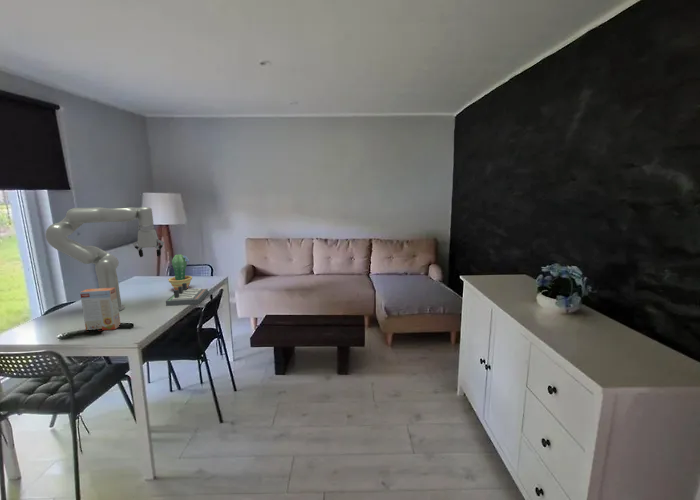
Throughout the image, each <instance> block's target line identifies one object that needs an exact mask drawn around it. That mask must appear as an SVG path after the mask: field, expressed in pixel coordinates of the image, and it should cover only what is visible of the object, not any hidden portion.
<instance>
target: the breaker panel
mask: <svg viewBox="0 0 700 500" xmlns="http://www.w3.org/2000/svg"><path fill="white" fill-rule="evenodd" d="M182 286H183V293H179V290H173V294H172V295H171V296H170V297H169V298H168V299H166V300H165V306H166V307H171V306H185V305H187V306H189V305H190V306H191V305H199V304H200V303H201V302H202V301H203V300H204V298H205V297H206V296H207V295H208V294H209V289H208V288H202V287H200V288H199V287H198V288H197V287H195V288H188V289H187V284H186V283H183V284H182Z"/></svg>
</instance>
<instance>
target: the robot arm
mask: <svg viewBox="0 0 700 500" xmlns="http://www.w3.org/2000/svg"><path fill="white" fill-rule="evenodd" d="M153 217H154V216H153V209H152V208H151V207H149V206H144V207H134V206H130V207H128V206H127V207H123V208H122V207H121V208H120V207H119V208H108V207H107V208H106V207H102V206H101V207H99V206H98V207H73V208H70V209H68V210H67V212H66V214H65V217H64V218H63V219H62V220H60V221H59V222H56V223H53V224H51V225H49V226H48V227H47V228H46V231H45V238H46V241H47V243H48V244H49V245H50V246H51V247H52V248H54V249H55V250H57V251H59V252H60V253H63V254H65V255H67V256H69V257H70V258H72V259H74V260H76V261H78V262H80V263H81V264H84V265H89V264H93V265H95V267H94V269H95V274H96V277H97V278H96V279H97V282H98V283H97V284H98V288H115V289H116V296H117V303H118V310H119V312H120V311H123V310H125V308H126V306H125V305H123V304H122V298H121V292H120V285H119V284H120V283H119V279H118V273H117V269H118V266H119V263H120V262H119V259H118V258H117V257H116V256H115V255H113V254H112V253H110V252H107V251H105V250H104V249H102V248H100V247H98V246H94V245H86V246H85V245H84V244H81V243H79V242H78V241H76V240H74V239H72V238H69V236H71V235H72V234H73V233H74V232H76V230H78V229H79V228H80V227H81V226H82V225H83V224H91V223H92V224H93V223H94V224H95V223H97V224H98V223H118V222H122V223H123V222H132V221H135V220H138V226H136V229H138V231H137V241H135V242H133V243H132V245H133V247H134V248H135V249H136V250H137V252H138V256H139V258H142V257H144V252H143V250H144V249H143V248H155V249H156V257H160V256H161V253H162V251H161V249H162V248H163V247H164V244H165V242H164V241H162V240H160V239H159V238H158V234H157V231H156V229H155V225H154V218H153ZM159 244H160V245H159Z"/></svg>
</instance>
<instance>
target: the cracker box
mask: <svg viewBox="0 0 700 500" xmlns="http://www.w3.org/2000/svg"><path fill="white" fill-rule="evenodd" d="M79 294H80V301H81V302H80V303H81V307H82V314H83V320H84V326H85V330H87V329H96V328H99V329H102V330H101V331H113V330H117V329H118V328H119V327H120V326H119V325H120V324H121V317H120V311H119V310H118V303H117V296H116V289H115V288H99V287H98V288H87V289H84V290H82V291H80V292H79Z"/></svg>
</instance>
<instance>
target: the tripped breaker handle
mask: <svg viewBox="0 0 700 500" xmlns="http://www.w3.org/2000/svg"><path fill="white" fill-rule="evenodd" d="M178 290H179V293H183V286H179V287H178Z"/></svg>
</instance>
